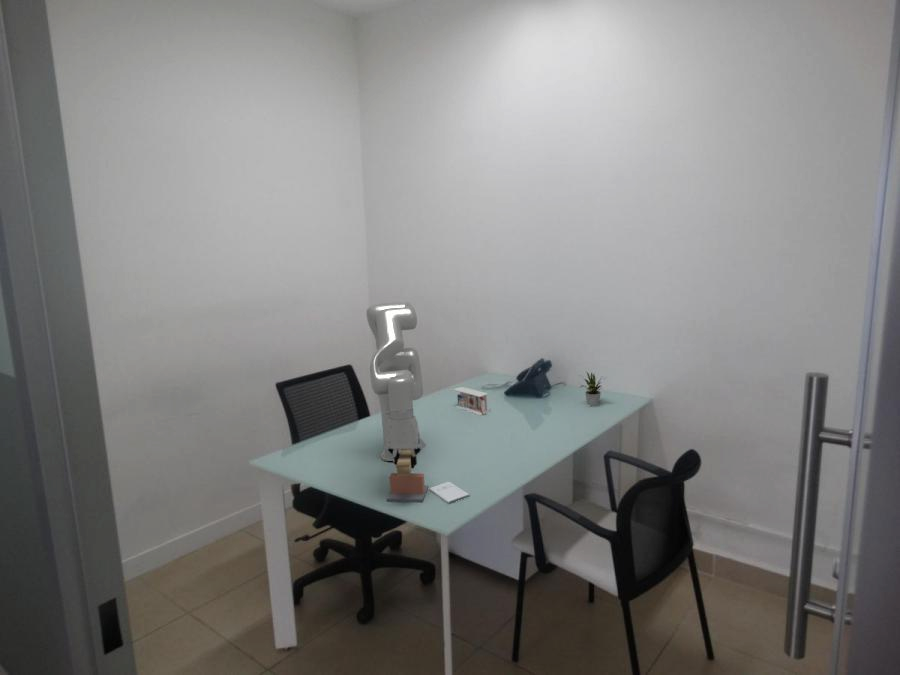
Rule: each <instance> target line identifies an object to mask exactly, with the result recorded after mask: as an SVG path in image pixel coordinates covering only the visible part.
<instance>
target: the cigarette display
mask: <svg viewBox="0 0 900 675" xmlns="http://www.w3.org/2000/svg"><path fill="white" fill-rule="evenodd" d="M453 391H455V392H458V394H457V405H455V406H456V407H457V406H458V408H459V406H460V408H461V407H464V408H465V409H466V408H467V409H466V410H467V411H466V412H468V411H470V410H471V411H470V412H469V413H471V412H473V413H472V414H474V413H476V414H475V415H478V414H479V416H484V415H486V414H488V413H489V412H490V406H489V393H487V392H485V391H484V392H483V391H479V390H476V389H473V388H467V387H463V386H460V387H457V388H456V387H455V388H454V389H453ZM458 408H457V409H458ZM464 408H463V409H464ZM468 408H469V409H470V410H469V409H468ZM461 409H462V408H461ZM461 409H460V410H461ZM465 409H464V410H465ZM464 410H463V411H464ZM487 412H488V413H487ZM485 413H486V414H485ZM481 414H483V415H481Z"/></svg>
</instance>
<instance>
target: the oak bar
mask: <svg viewBox="0 0 900 675" xmlns="http://www.w3.org/2000/svg"><path fill="white" fill-rule="evenodd" d="M411 456H412V454H411V451H410V449H401V452H400V455H399V459H398V462H397V468H396V473H397V477H406V476H410V474H411V473H412V470H413V468H411Z"/></svg>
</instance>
